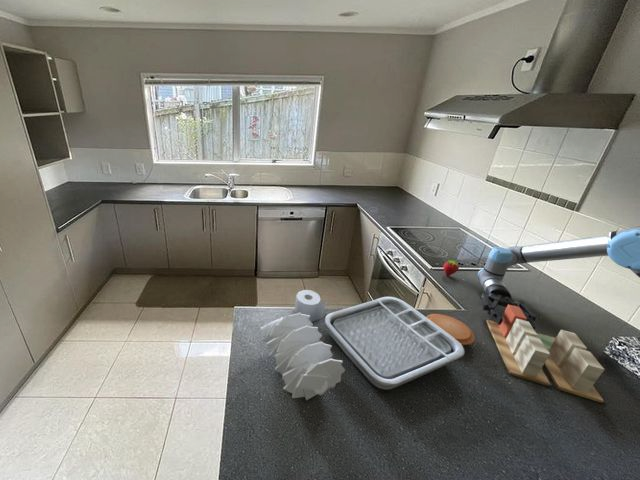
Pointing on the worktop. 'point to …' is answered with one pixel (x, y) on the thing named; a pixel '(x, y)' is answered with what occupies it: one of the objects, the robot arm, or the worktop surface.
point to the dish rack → (391, 341)
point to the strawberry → (450, 267)
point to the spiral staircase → (301, 356)
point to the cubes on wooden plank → (572, 365)
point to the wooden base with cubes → (521, 351)
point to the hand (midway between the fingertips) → (516, 326)
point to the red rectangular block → (511, 318)
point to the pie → (453, 328)
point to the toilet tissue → (310, 305)
